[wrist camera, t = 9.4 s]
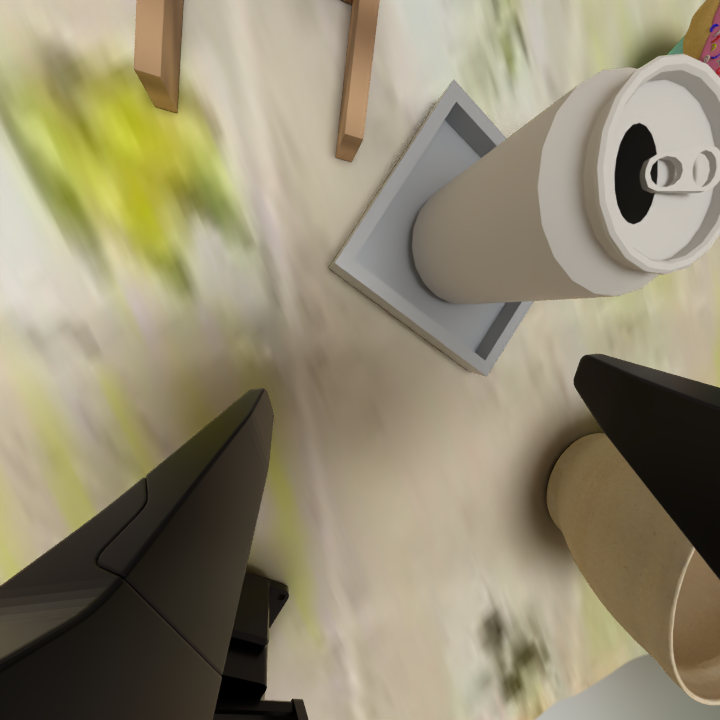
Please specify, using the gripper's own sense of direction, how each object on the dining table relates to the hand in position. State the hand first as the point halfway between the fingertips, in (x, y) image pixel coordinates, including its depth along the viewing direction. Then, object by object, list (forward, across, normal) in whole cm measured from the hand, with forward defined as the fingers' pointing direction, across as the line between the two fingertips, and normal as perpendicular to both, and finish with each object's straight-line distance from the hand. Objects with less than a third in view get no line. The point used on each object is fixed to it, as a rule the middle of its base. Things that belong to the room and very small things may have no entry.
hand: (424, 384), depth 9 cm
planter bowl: (+10, -18, +20) cm, 29 cm away
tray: (+15, -6, 0) cm, 16 cm away
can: (+14, -6, 0) cm, 15 cm away
